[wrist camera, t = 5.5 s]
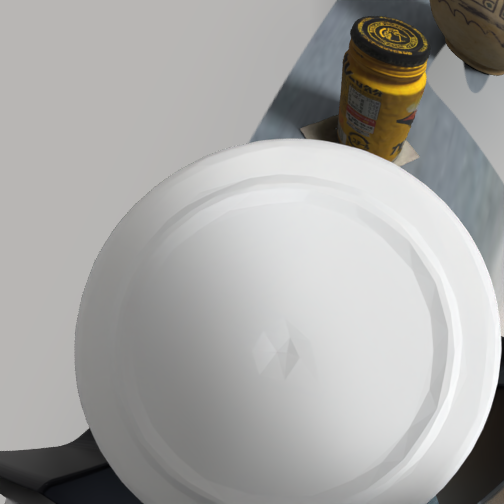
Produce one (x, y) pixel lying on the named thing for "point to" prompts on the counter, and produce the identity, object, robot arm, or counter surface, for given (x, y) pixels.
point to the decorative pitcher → (473, 31)
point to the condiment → (378, 90)
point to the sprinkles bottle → (288, 333)
